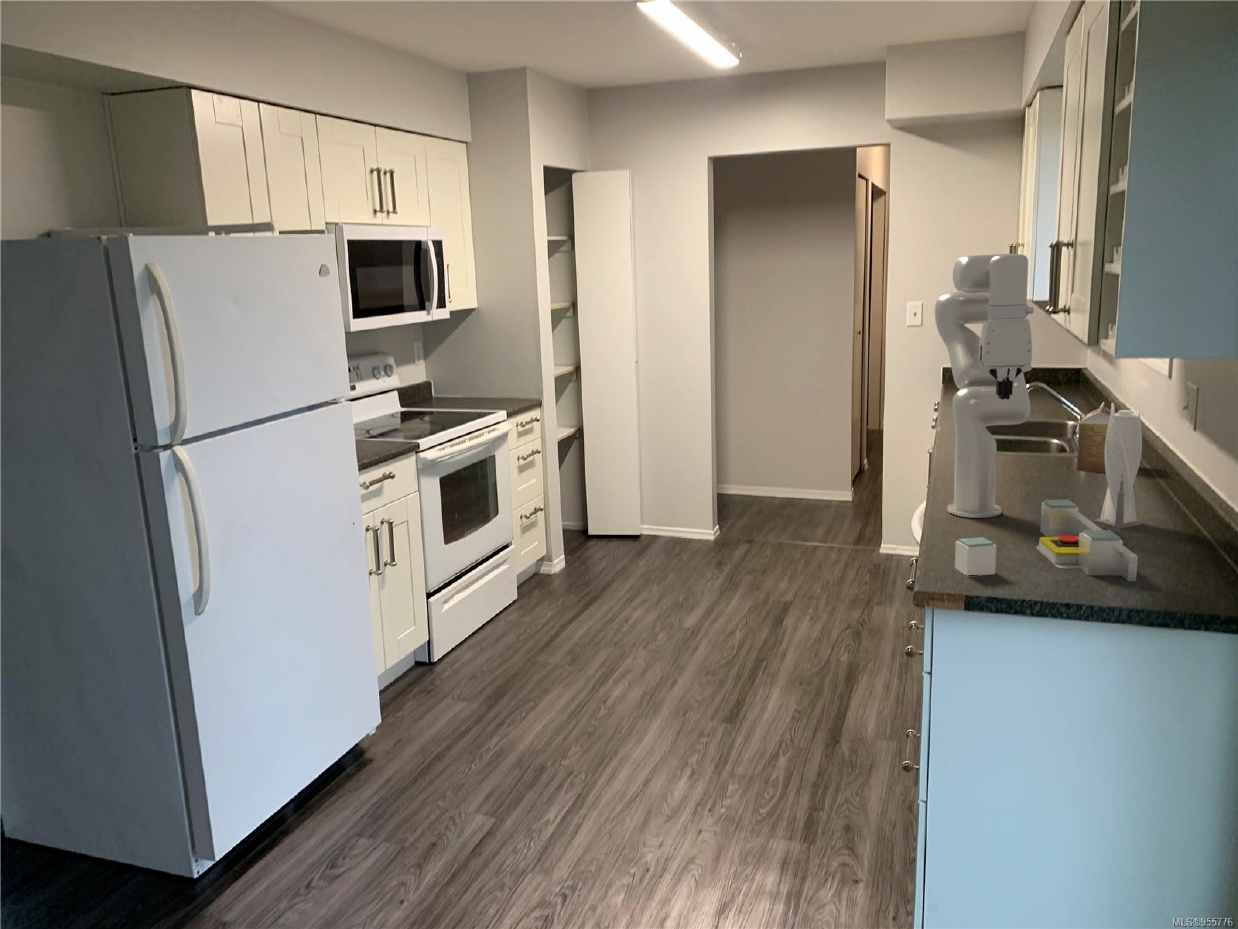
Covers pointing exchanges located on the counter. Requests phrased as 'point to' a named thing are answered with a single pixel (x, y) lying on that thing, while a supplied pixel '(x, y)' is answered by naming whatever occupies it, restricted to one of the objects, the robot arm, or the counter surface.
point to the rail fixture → (1088, 540)
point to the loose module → (975, 556)
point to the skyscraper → (1121, 468)
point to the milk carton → (1093, 440)
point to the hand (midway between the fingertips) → (1003, 398)
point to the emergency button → (1060, 551)
